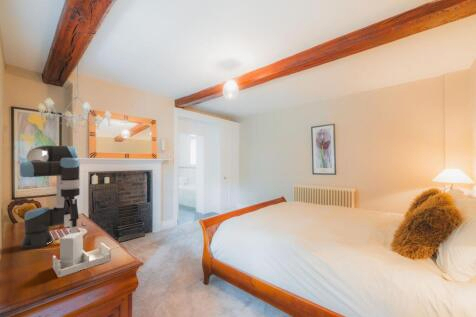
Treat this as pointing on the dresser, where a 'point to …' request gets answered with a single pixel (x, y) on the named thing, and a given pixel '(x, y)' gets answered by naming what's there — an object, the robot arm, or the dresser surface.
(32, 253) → the dresser surface
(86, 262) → the caddy rack
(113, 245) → the dresser surface
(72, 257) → the skincare box
